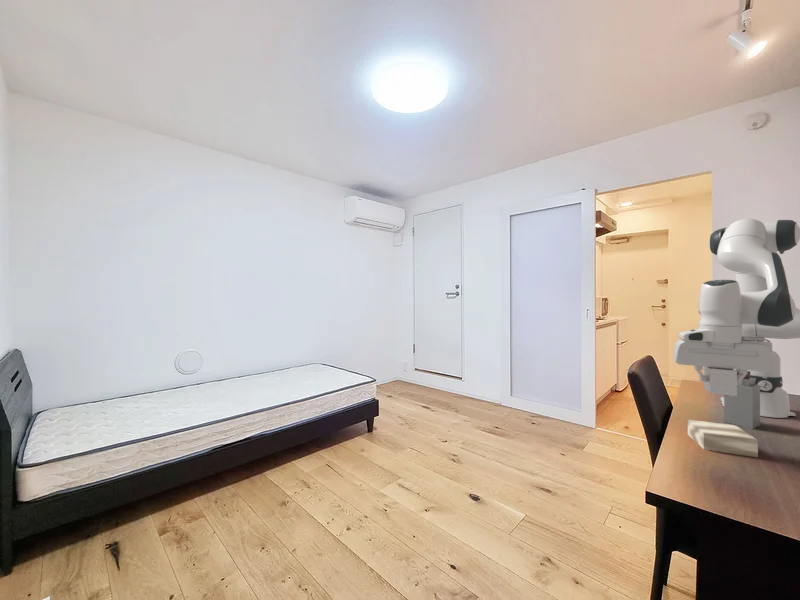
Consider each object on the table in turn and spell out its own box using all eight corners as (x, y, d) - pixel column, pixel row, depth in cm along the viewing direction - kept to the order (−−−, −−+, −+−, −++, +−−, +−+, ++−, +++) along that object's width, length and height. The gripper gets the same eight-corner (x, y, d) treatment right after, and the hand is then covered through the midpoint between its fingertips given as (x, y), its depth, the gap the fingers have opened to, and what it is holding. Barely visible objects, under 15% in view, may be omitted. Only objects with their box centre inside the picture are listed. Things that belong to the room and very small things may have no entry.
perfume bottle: (752, 429, 103) (752, 374, 103) (724, 422, 109) (724, 370, 109) (760, 425, 106) (759, 371, 106) (732, 418, 112) (731, 368, 112)
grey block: (704, 388, 95) (704, 365, 95) (729, 391, 92) (729, 367, 92) (709, 392, 90) (709, 368, 90) (736, 396, 88) (736, 370, 88)
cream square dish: (687, 435, 99) (687, 419, 99) (735, 441, 94) (734, 425, 94) (703, 450, 89) (703, 432, 89) (757, 458, 84) (757, 439, 84)
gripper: (766, 336, 89) (766, 385, 89) (672, 332, 99) (672, 376, 99) (778, 338, 83) (778, 391, 83) (676, 334, 94) (676, 380, 94)
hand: (719, 383), depth 91 cm, fingers closed on grey block, 5 cm apart
